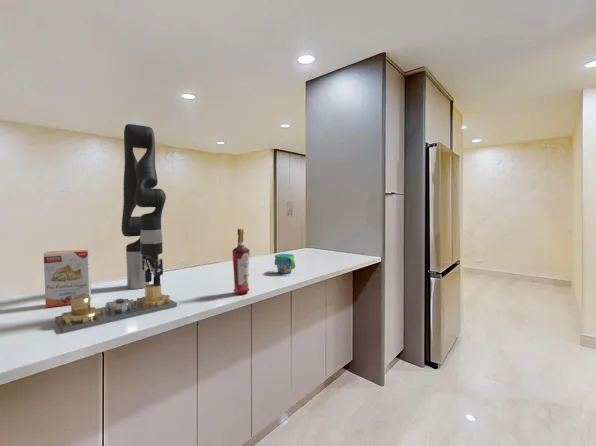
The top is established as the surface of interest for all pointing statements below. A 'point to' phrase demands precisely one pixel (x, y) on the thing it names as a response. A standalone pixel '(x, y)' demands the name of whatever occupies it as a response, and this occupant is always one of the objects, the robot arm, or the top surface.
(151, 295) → the gear
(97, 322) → the carrier plate
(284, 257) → the snack cup
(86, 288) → the cracker box
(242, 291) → the liquor
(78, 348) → the top surface
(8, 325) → the top surface
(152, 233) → the robot arm
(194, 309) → the top surface
